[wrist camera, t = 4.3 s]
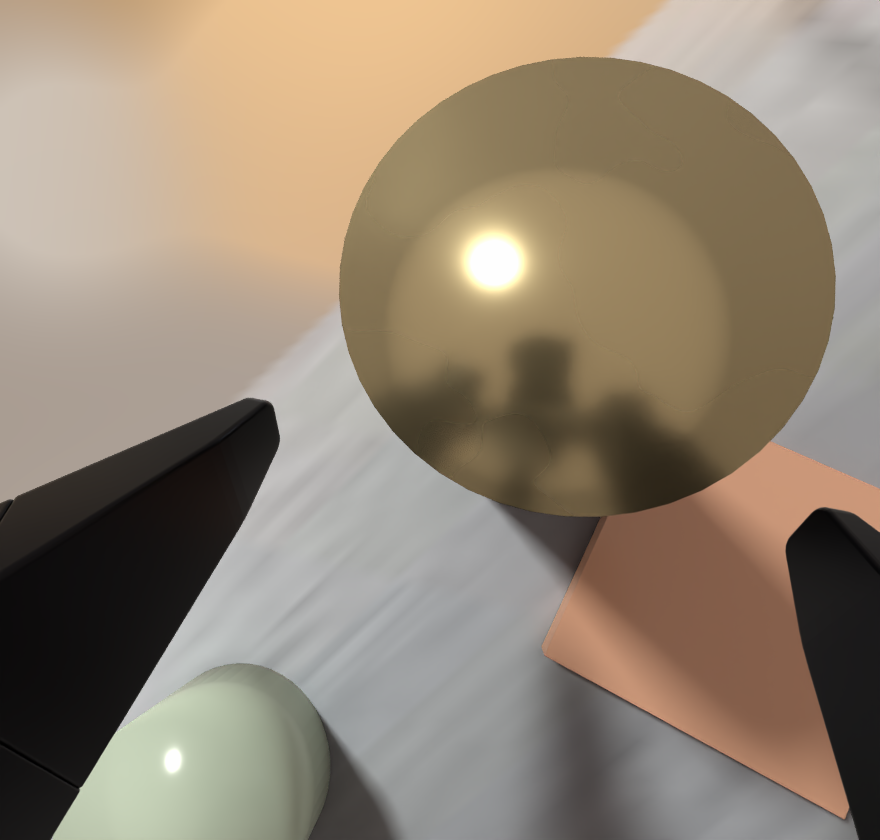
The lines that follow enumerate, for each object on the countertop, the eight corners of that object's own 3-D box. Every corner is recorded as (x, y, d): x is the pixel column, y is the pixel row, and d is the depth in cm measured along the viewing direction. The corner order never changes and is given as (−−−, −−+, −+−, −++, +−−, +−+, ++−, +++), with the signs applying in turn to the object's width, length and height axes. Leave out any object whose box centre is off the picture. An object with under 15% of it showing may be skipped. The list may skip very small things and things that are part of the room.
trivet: (825, 801, 15) (844, 819, 14) (541, 646, 16) (544, 655, 15) (935, 521, 15) (959, 524, 15) (654, 398, 17) (663, 394, 16)
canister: (545, 514, 17) (714, 613, 4) (417, 450, 17) (258, 384, 5) (606, 385, 17) (913, 149, 5) (477, 329, 18) (462, 1, 6)
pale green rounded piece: (276, 907, 16) (207, 1049, 12) (120, 801, 17) (9, 899, 13) (363, 721, 16) (325, 799, 12) (207, 628, 17) (126, 673, 13)
